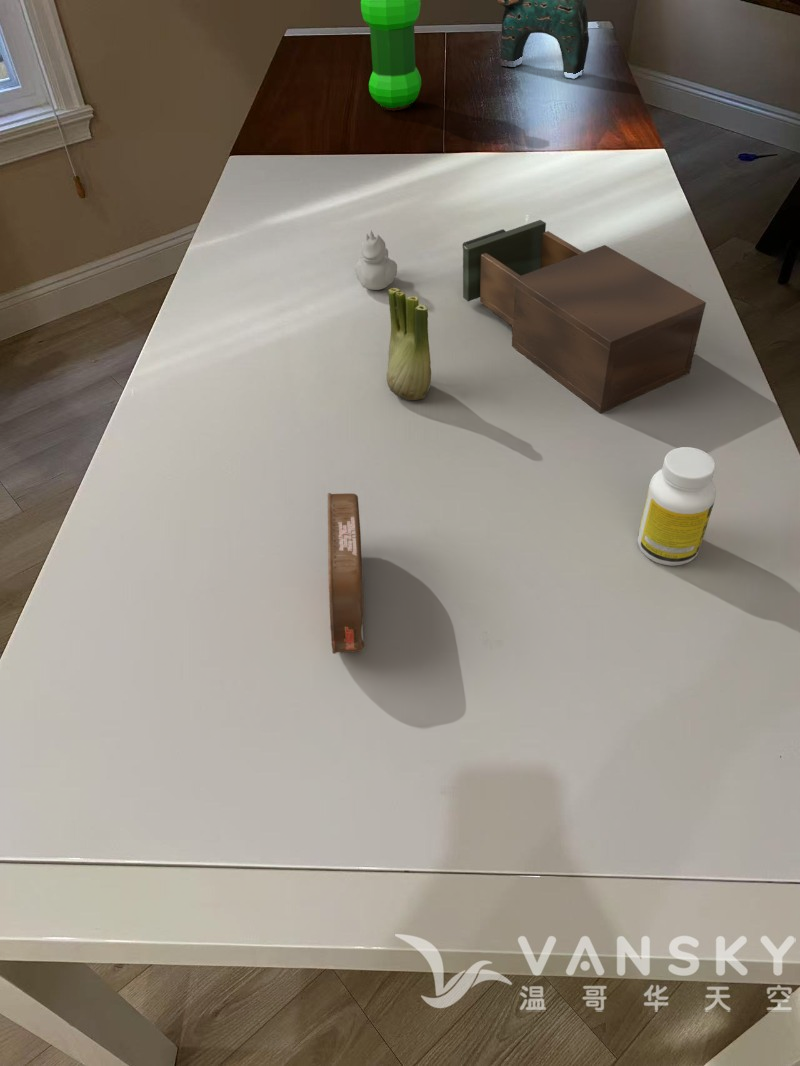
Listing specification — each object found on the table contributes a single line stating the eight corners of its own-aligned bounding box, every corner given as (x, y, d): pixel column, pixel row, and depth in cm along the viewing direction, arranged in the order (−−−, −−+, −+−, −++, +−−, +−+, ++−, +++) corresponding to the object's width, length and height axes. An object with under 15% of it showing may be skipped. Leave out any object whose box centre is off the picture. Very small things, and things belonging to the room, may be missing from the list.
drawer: (444, 283, 106) (443, 232, 102) (517, 257, 110) (519, 207, 105) (533, 350, 95) (537, 296, 90) (611, 319, 99) (619, 265, 94)
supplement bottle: (705, 567, 72) (732, 484, 65) (642, 568, 72) (662, 485, 65) (691, 523, 76) (715, 440, 69) (631, 524, 76) (649, 441, 69)
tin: (331, 540, 77) (320, 472, 70) (365, 537, 77) (356, 469, 71) (333, 675, 66) (320, 608, 60) (372, 672, 66) (363, 605, 60)
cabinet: (511, 346, 97) (514, 277, 91) (596, 312, 102) (604, 244, 95) (600, 413, 88) (610, 342, 81) (689, 373, 92) (706, 302, 85)
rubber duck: (350, 294, 108) (344, 236, 102) (366, 270, 112) (360, 212, 106) (390, 298, 106) (386, 239, 101) (404, 274, 111) (401, 216, 105)
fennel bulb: (437, 403, 90) (434, 305, 82) (393, 411, 90) (386, 313, 81) (425, 374, 94) (422, 277, 86) (383, 381, 94) (375, 284, 85)
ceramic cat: (490, 66, 169) (492, -51, 155) (508, 58, 172) (512, -58, 158) (574, 83, 159) (584, -41, 145) (591, 73, 163) (603, -49, 148)
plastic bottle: (426, 96, 159) (421, -62, 141) (419, 116, 151) (413, -47, 134) (374, 96, 160) (364, -60, 142) (365, 116, 153) (352, -46, 135)
